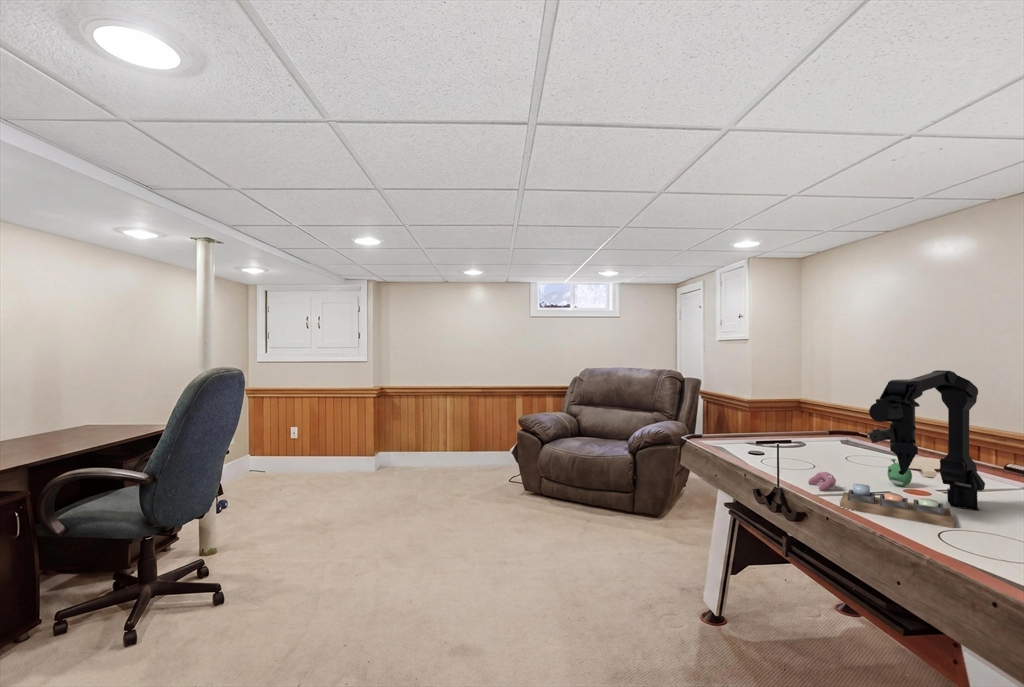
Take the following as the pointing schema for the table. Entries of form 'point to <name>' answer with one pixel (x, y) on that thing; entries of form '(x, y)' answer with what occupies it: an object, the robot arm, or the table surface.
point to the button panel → (898, 509)
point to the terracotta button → (893, 497)
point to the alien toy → (898, 475)
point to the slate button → (861, 490)
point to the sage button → (928, 502)
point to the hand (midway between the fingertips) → (903, 472)
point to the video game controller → (823, 480)
